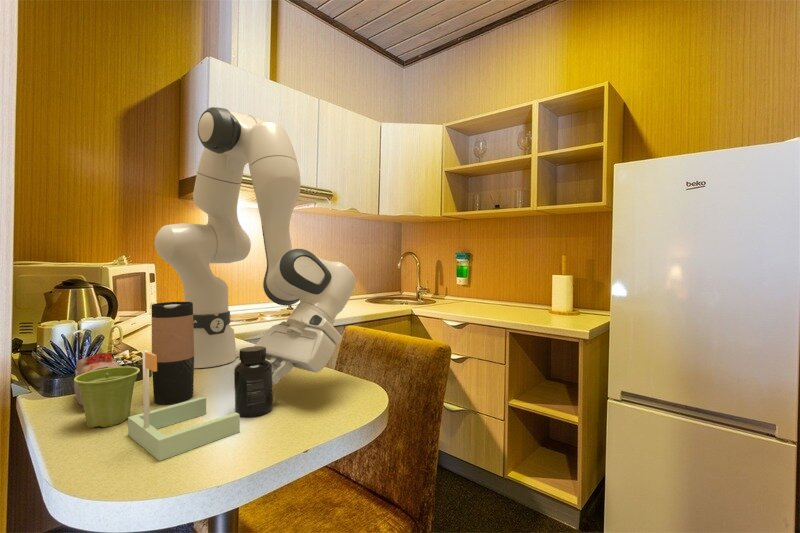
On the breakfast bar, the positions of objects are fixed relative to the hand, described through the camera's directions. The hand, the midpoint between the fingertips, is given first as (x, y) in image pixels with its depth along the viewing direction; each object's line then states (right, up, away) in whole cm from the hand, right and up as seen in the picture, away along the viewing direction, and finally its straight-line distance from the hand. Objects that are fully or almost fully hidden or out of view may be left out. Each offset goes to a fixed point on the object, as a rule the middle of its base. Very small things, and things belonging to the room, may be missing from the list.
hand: (269, 381), depth 77 cm
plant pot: (-27, -5, -7) cm, 28 cm away
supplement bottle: (-2, -5, -3) cm, 6 cm away
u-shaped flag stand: (-10, -5, -12) cm, 16 cm away
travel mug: (-21, -5, +4) cm, 22 cm away
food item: (-37, -5, +3) cm, 37 cm away
